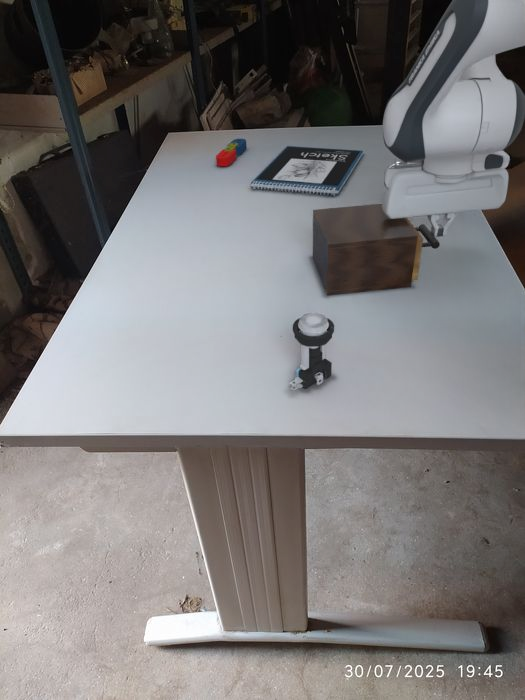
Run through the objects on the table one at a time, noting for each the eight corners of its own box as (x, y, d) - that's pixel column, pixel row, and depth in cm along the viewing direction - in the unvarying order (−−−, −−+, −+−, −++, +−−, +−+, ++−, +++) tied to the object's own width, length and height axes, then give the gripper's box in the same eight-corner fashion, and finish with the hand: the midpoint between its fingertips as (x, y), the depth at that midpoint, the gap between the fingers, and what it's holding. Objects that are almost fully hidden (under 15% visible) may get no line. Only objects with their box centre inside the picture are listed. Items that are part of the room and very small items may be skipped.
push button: (304, 402, 71) (303, 342, 65) (278, 382, 75) (275, 323, 68) (340, 380, 74) (343, 320, 68) (314, 362, 78) (314, 303, 72)
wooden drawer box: (388, 250, 103) (393, 202, 97) (410, 287, 92) (418, 235, 86) (312, 257, 102) (312, 209, 96) (326, 295, 91) (328, 244, 86)
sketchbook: (362, 155, 146) (363, 147, 145) (337, 198, 124) (337, 189, 123) (286, 150, 152) (286, 142, 151) (249, 190, 130) (249, 181, 129)
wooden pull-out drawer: (417, 244, 102) (422, 205, 97) (441, 277, 92) (448, 236, 88) (325, 253, 101) (326, 214, 96) (339, 287, 92) (341, 246, 87)
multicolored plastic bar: (228, 168, 143) (227, 156, 141) (214, 167, 144) (213, 156, 142) (248, 148, 155) (247, 137, 154) (235, 147, 156) (235, 136, 155)
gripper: (391, 168, 83) (384, 249, 92) (520, 156, 84) (501, 237, 92) (380, 155, 88) (374, 233, 97) (502, 144, 89) (486, 222, 97)
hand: (437, 235), depth 95 cm, fingers closed
